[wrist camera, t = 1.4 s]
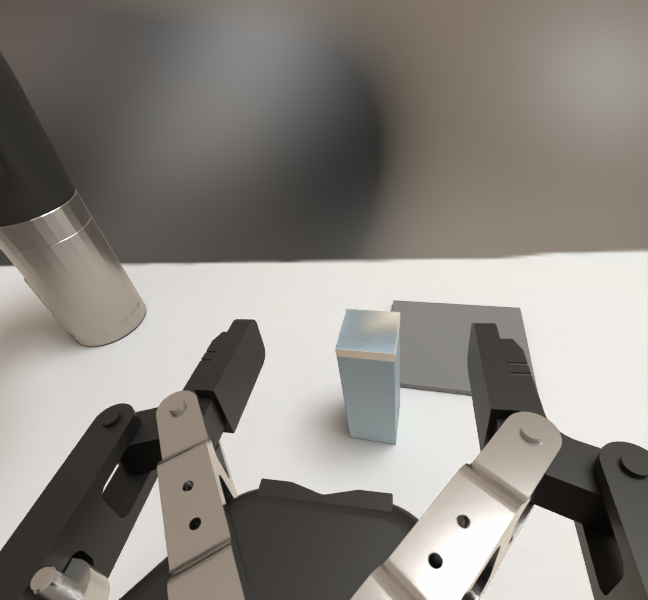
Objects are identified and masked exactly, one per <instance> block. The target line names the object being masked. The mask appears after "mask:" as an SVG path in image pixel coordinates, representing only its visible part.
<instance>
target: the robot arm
mask: <svg viewBox="0 0 648 600" xmlns="http://www.w3.org/2000/svg"><path fill="white" fill-rule="evenodd" d="M0 249H1V250H2V251H3V252H4V253H5V254H6V255H7V257H8V258H9V259H10V260H11V262H12V263H13V264H14V265H15V266H16V268H17V269H18V270H19V271H20V272H21V274H22V275H23V276H24V280H25V282H26V283H27V284H28V286H29V287H30V288H31V289H32V290H33V292H34V293H35V294H36V295H37V296H38V297H39V299H40V300H41V301H42V302H43V303H44V305H45V306H46V307H47V308H48V309H49V311H50V312H51V313H52V314H53V315H54V316H55V318H56V319H57V320H58V321H59V322H60V324H61V325H62V326H63V327H64V328H65V330H66V331H67V332H68V333H69V334H70V335H73V336H74V337H75V339H76V340H77V341H78V342H79V343H80V344H83V345H85V346H99V345H104V344H108V343H110V342H113V341H115V340H118V339H120V338H122V337H123V336H125V335H127V334H128V333H129V332H131V331H132V330H133V329H135V328H136V327H137V326H138V324H139V323H140V322H141V321H142V319H143V318H144V315H145V313H146V306H145V304H144V302H143V301H142V299H141V297H140V296H139V294H138V292H137V291H136V289H135V287H134V286H133V284H132V282H131V280H130V279H129V277H128V275H127V274H126V272H125V271H124V269H123V267H122V266H121V264H120V262H119V261H118V259H117V257H116V256H115V254H114V252H113V251H112V249H111V247H110V246H109V244H108V242H107V241H106V239H105V237H104V236H103V234H102V232H101V231H100V229H99V228H98V226H97V224H96V222H95V221H94V219H93V217H92V216H91V214H90V213H89V211H88V209H87V208H86V206H85V205H84V203H83V201H82V200H81V198H80V196H79V194H78V193H77V191H76V189H75V188H74V186H73V184H72V183H71V181H70V179H69V178H68V176H67V174H66V171H65V169H64V167H63V164H62V162H61V160H60V158H59V156H58V154H57V152H56V150H55V148H54V146H53V145H52V143H51V141H50V140H49V138H48V136H47V134H46V132H45V131H44V129H43V127H42V125H41V123H40V121H39V119H38V118H37V116H36V114H35V112H34V110H33V108H32V106H31V105H30V102H29V100H28V99H27V97H26V95H25V93H24V91H23V89H22V87H21V85H20V83H19V82H18V80H17V78H16V76H15V74H14V73H13V71H12V69H11V67H10V66H9V64H8V63H7V61H6V60H5V58H4V56H3V55H2V53H1V52H0ZM264 360H265V348H264V344H263V341H262V338H261V335H260V332H259V329H258V326H257V323H256V321H255V320H248V319H236V320H234V321H233V323H232V325H231V326H230V328H229V330H228V331H227V332H222V333H221V334H220V335H219V336H217V337H216V338H215V339H214V340H213V341H212V343H211V344H210V346H209V347H208V349H207V352H206V353H205V354H204V356H203V357H202V361H200V362H199V364H198V366H197V367H196V369H195V371H194V372H193V374H192V376H191V377H190V379H189V381H188V382H187V384H186V385H185V387H184V389H183V390H182V391H179V392H176V393H173V394H171V395H170V396H168V397H167V398H166V399H164V400H163V401H162V402H161V404H160V405H159V407H157V408H153V409H148V410H144V411H139V412H135V410H134V409H133V408H132V406H130V405H129V404H124V403H123V404H116V405H113V406H111V407H109V408H107V409H106V410H104V411H103V412H101V413H100V414H99V415H98V416H97V417H96V418H95V420H94V421H93V422H92V424H91V425H90V427H89V428H88V429H87V431H86V432H85V434H84V435H83V436H82V438H81V439H80V441H79V442H78V443H77V445H76V446H75V448H74V449H73V450H72V452H71V453H70V455H69V456H68V457H67V459H66V460H65V462H64V463H63V464H62V466H61V467H60V469H59V470H58V471H57V473H56V474H55V476H54V477H53V478H52V480H51V481H50V483H49V484H48V485H47V487H46V488H45V490H44V491H43V492H42V494H41V495H40V497H39V498H38V499H37V501H36V502H35V504H34V505H33V506H32V508H31V509H30V511H29V512H28V513H27V515H26V516H25V517H24V519H23V520H22V522H21V523H20V524H19V526H18V527H17V529H16V530H15V531H14V533H13V534H12V536H11V537H10V538H9V540H8V541H7V543H6V544H5V545H4V547H3V548H2V550H1V551H0V600H108V597H109V591H110V586H109V581H108V577H109V575H110V573H111V571H112V569H113V567H114V565H115V563H116V561H117V559H118V557H119V555H120V553H121V551H122V549H123V547H124V545H125V543H126V541H127V539H128V536H129V534H130V532H131V530H132V528H133V526H134V524H135V522H136V520H137V518H138V516H139V514H140V512H141V510H142V508H143V506H144V504H145V502H146V500H147V498H148V496H149V493H150V491H151V489H152V487H153V485H154V483H155V481H156V479H157V477H158V481H159V489H160V497H161V505H162V513H163V521H164V530H165V538H166V546H167V554H168V556H167V557H166V558H165V559H164V560H163V561H162V562H161V563H159V564H158V565H157V566H156V567H155V568H154V569H153V570H152V571H151V572H149V573H148V574H147V575H146V576H145V577H144V578H143V579H142V580H140V581H139V582H138V583H137V584H136V585H135V586H134V587H133V588H132V589H130V590H129V591H128V592H127V593H126V594H125V595H124V596H123V597H121V598H120V599H119V600H480V598H481V596H482V595H483V593H484V591H485V590H486V588H487V587H488V585H489V583H490V582H491V580H492V578H493V577H494V575H495V573H496V572H497V570H498V568H499V566H500V564H501V562H502V560H503V558H504V557H505V555H506V553H507V551H508V549H509V548H510V546H511V544H512V543H513V541H514V539H515V538H516V536H517V535H518V533H519V531H520V530H521V528H522V526H523V525H524V523H525V522H526V520H527V518H528V517H529V515H530V513H531V512H532V510H533V509H534V507H535V505H538V506H540V507H543V508H545V509H547V510H550V511H552V512H555V513H557V514H559V515H562V516H564V517H567V518H569V519H571V520H574V523H575V527H576V530H577V534H578V538H579V542H580V546H581V550H582V554H583V557H584V561H585V565H586V569H587V573H588V577H589V581H590V584H591V588H592V592H593V596H594V600H648V451H647V450H646V449H644V448H642V447H640V446H637V445H634V444H631V443H627V442H611V443H608V444H606V445H605V446H604V447H602V449H601V448H598V447H595V446H592V445H589V444H586V443H583V442H580V441H577V440H574V439H572V438H570V437H568V436H566V435H564V434H562V433H561V432H559V430H558V429H557V428H556V426H555V425H554V424H553V423H552V422H550V421H549V420H548V419H547V418H546V415H545V413H544V410H543V407H542V404H541V401H540V398H539V395H538V392H537V389H536V386H535V383H534V380H533V377H532V376H531V371H530V368H529V365H528V364H527V363H528V362H527V359H526V357H525V354H524V351H523V349H522V348H521V347H520V346H519V345H518V344H517V343H516V342H515V341H514V340H513V339H501V338H500V336H499V332H498V329H497V325H496V324H495V323H472V325H471V331H470V339H469V347H468V356H467V367H468V375H469V381H470V388H471V394H472V400H473V406H474V413H475V419H476V425H477V431H478V438H479V444H480V450H481V452H480V454H479V455H478V456H477V458H476V459H475V460H474V461H473V462H472V463H471V464H470V465H469V464H465V465H463V466H462V467H461V468H460V469H459V471H458V472H457V473H456V474H455V476H454V477H453V478H452V479H451V481H450V482H449V483H448V484H447V486H446V487H445V488H444V489H443V491H442V492H441V493H440V494H439V496H438V497H437V498H436V499H435V501H434V502H433V503H432V504H431V506H430V507H429V508H428V509H427V511H426V512H425V513H424V514H423V516H422V517H421V518H420V519H419V520H418V519H417V518H416V517H415V516H413V515H412V514H411V513H409V512H408V511H406V510H404V509H403V508H401V507H399V506H396V505H394V504H393V495H392V494H390V493H381V492H373V491H364V490H354V491H347V492H340V493H334V494H327V495H323V494H319V493H317V492H314V491H312V490H310V489H307V488H305V487H302V486H300V485H298V484H295V483H293V482H287V481H279V480H270V479H262V480H261V483H260V486H259V489H255V490H252V491H248V492H246V493H244V494H241V495H239V496H238V494H237V492H236V489H235V487H234V484H233V481H232V478H231V474H230V471H229V468H228V464H227V461H226V458H225V455H224V451H223V448H222V445H221V442H220V438H221V435H222V433H223V432H227V433H234V432H235V430H236V428H237V425H238V423H239V420H240V418H241V416H242V413H243V411H244V409H245V406H246V404H247V401H248V399H249V397H250V394H251V392H252V390H253V387H254V385H255V382H256V380H257V378H258V375H259V373H260V370H261V368H262V366H263V363H264ZM117 464H118V465H119V466H118V468H117V470H116V472H115V473H114V475H113V477H112V478H111V480H110V482H109V483H108V485H107V487H106V489H105V490H104V492H103V488H104V486H105V484H106V482H107V480H108V479H109V477H110V475H111V474H112V472H113V470H114V468H115V467H116V465H117ZM102 493H103V494H102Z"/></svg>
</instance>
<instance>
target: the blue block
mask: <svg viewBox="0 0 648 600" xmlns="http://www.w3.org/2000/svg"><path fill="white" fill-rule="evenodd" d="M335 350H336V356H337V360H338V366H339V372H340V378H341V384H342V390H343V395H344V401H345V407H346V413H347V419H348V425H349V431H350V437H353V438H360V439H366V440H372V441H378V442H385V443H391V444H396V437H397V427H398V417H399V408H400V312H388V311H373V310H358V309H346V312H345V316H344V319H343V323H342V326H341V330H340V333H339V337H338V340H337V344H336V348H335Z"/></svg>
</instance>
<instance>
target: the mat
mask: <svg viewBox="0 0 648 600" xmlns="http://www.w3.org/2000/svg"><path fill="white" fill-rule="evenodd" d="M392 312H400V387H406V388H415V389H423V390H431V391H440V392H448V393H457V394H465V395H472V394H471V388H470V381H469V375H468V367H467V356H468V347H469V339H470V331H471V325H472V323H495V324H496V325H497V329H498V332H499V336H500V338H501V339H513V340H514V341H515V342H516V343H517V344H518V345H519V346H520V347H521V348H522V349H523V351H524V354H525V357H526V359H527V362H528V363H527V364H528V365H529V368H530V371H531V376H532V377H533V380H534V383H535V386H536V382H535V377H534V372H533V368H532V363H531V358H530V353H529V349H528V344H527V339H526V334H525V329H524V325H523V320H522V315H521V310H520V308H512V307H495V306H478V305H461V304H445V303H428V302H411V301H394V300H393V306H392ZM536 389H537V387H536Z"/></svg>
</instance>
